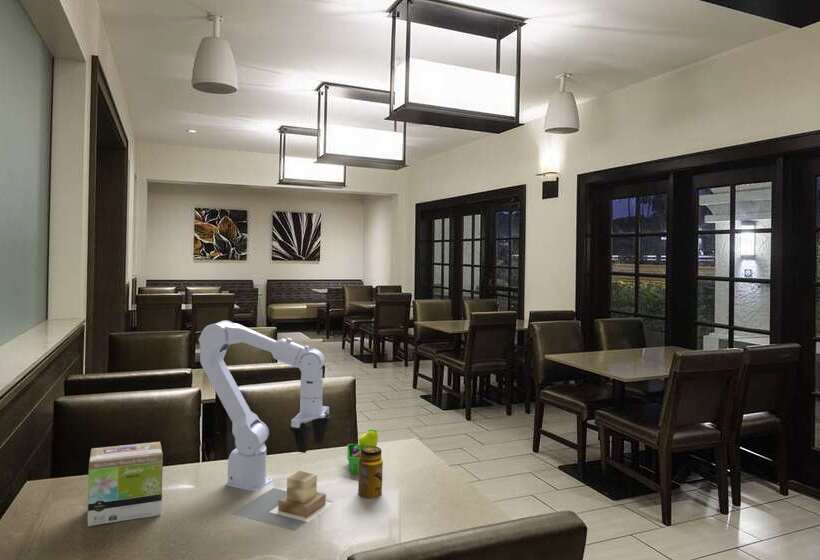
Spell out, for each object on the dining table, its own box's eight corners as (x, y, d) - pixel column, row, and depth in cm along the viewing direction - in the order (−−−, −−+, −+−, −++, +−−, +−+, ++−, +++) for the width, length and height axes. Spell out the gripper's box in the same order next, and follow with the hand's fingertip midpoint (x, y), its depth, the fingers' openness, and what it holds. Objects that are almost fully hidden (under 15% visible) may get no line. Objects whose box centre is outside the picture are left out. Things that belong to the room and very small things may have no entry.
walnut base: (278, 510, 132) (278, 500, 132) (298, 497, 139) (298, 487, 139) (306, 517, 128) (307, 507, 128) (325, 504, 136) (325, 494, 136)
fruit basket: (346, 460, 166) (347, 423, 166) (376, 460, 167) (377, 423, 167) (346, 475, 155) (347, 435, 155) (378, 475, 156) (379, 435, 156)
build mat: (230, 514, 130) (230, 513, 130) (273, 489, 144) (273, 487, 144) (296, 532, 122) (296, 530, 122) (335, 503, 137) (335, 502, 137)
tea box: (86, 529, 121) (87, 462, 121) (89, 510, 130) (89, 447, 130) (162, 516, 128) (163, 452, 128) (159, 498, 137) (160, 439, 137)
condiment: (388, 497, 142) (389, 450, 141) (358, 504, 137) (360, 456, 137) (374, 487, 148) (375, 442, 148) (345, 493, 143) (346, 447, 143)
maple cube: (286, 498, 133) (287, 477, 132) (299, 490, 137) (299, 470, 137) (304, 503, 130) (304, 482, 130) (316, 495, 135) (316, 474, 135)
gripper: (308, 404, 138) (307, 458, 138) (339, 392, 151) (338, 441, 152) (284, 400, 141) (284, 454, 141) (317, 389, 154) (316, 437, 154)
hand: (310, 447), depth 147 cm, fingers open, 7 cm apart
